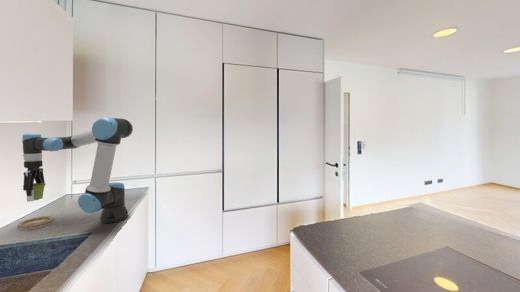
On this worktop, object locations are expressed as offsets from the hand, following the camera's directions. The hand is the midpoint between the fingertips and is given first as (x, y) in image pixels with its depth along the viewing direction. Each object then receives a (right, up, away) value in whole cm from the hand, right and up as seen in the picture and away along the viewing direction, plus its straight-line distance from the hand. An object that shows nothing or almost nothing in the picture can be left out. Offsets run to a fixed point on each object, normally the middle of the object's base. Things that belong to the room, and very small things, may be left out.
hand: (35, 198), depth 130 cm
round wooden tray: (0, -15, +1) cm, 15 cm away
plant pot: (0, -1, 0) cm, 1 cm away
